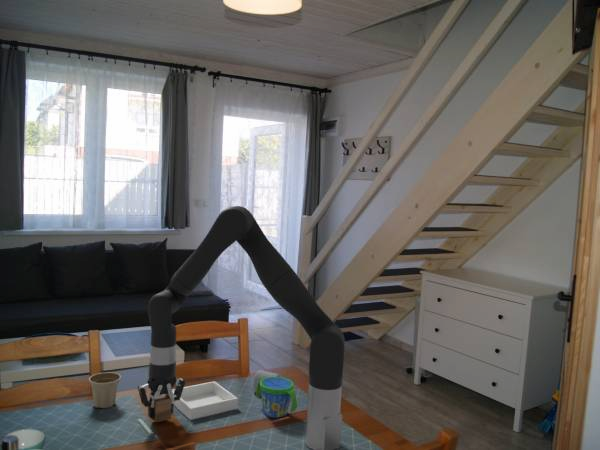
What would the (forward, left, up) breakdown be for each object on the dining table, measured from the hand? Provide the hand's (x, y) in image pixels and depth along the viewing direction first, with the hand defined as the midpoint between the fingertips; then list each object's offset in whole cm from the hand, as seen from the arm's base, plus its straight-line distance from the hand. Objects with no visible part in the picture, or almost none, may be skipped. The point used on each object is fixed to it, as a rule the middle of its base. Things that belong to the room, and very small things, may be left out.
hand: (160, 416), depth 150 cm
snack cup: (-11, -33, -2) cm, 35 cm away
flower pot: (+21, +10, -2) cm, 23 cm away
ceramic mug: (+5, -40, -3) cm, 41 cm away
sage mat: (0, 0, -2) cm, 2 cm away
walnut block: (0, 0, 0) cm, 0 cm away
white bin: (+5, -16, -2) cm, 17 cm away
